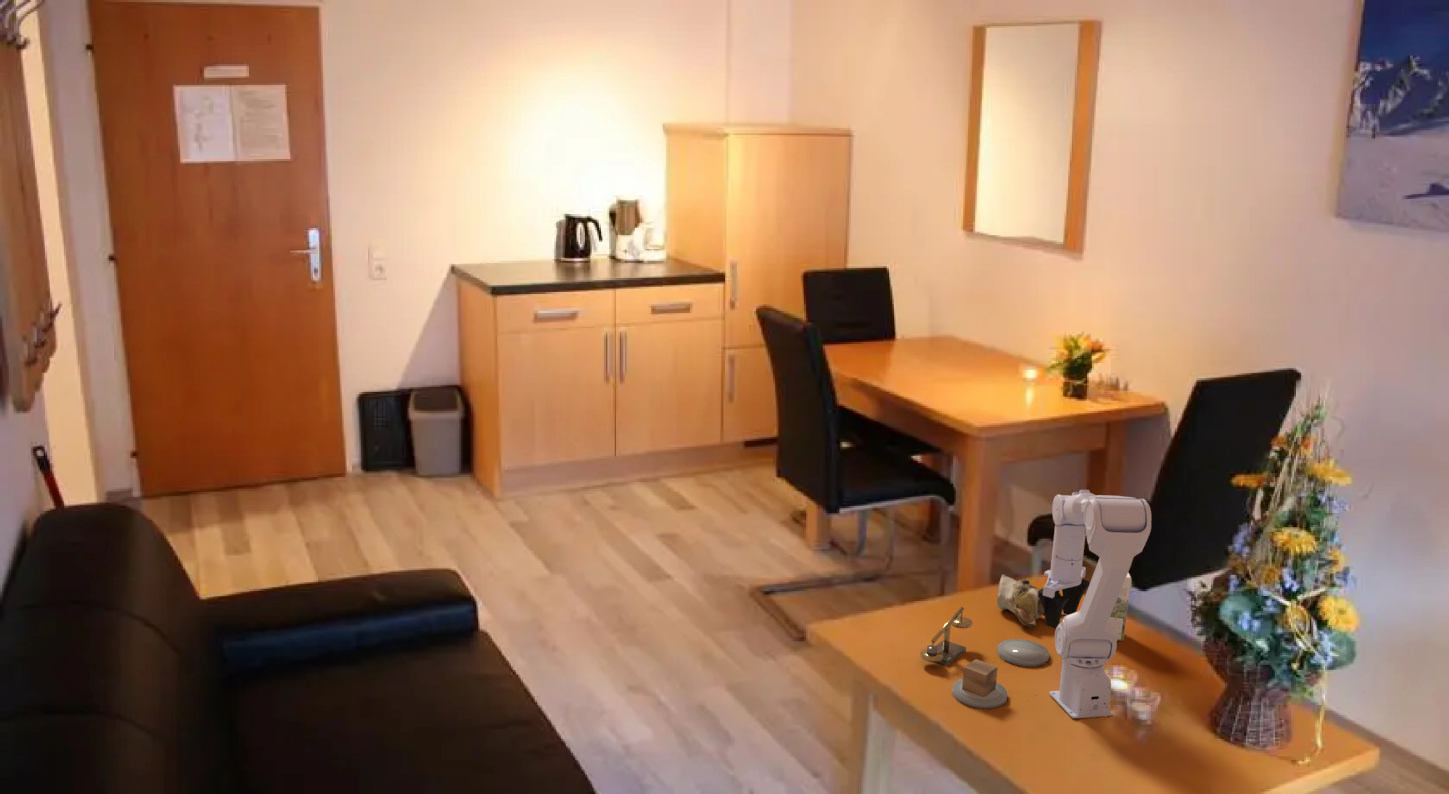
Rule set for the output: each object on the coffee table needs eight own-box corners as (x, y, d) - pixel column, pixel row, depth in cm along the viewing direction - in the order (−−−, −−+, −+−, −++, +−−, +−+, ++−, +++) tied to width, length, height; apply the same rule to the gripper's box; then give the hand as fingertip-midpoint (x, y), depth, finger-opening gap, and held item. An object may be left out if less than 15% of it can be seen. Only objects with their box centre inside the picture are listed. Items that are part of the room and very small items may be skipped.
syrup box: (1117, 629, 251) (1125, 565, 247) (1123, 642, 245) (1132, 576, 242) (1090, 628, 251) (1097, 563, 248) (1095, 640, 246) (1103, 574, 242)
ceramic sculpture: (1020, 563, 262) (1072, 591, 250) (1015, 598, 265) (1067, 628, 253) (985, 572, 257) (1037, 601, 245) (980, 608, 259) (1031, 639, 247)
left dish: (1015, 706, 218) (1016, 700, 217) (964, 710, 216) (965, 704, 215) (993, 680, 227) (993, 675, 227) (944, 683, 225) (944, 678, 225)
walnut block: (973, 681, 224) (975, 659, 223) (995, 689, 222) (997, 666, 221) (962, 689, 221) (963, 667, 220) (983, 697, 218) (985, 675, 217)
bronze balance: (953, 637, 245) (956, 599, 243) (975, 645, 242) (978, 606, 240) (914, 664, 233) (917, 625, 230) (936, 672, 230) (940, 632, 227)
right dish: (1057, 664, 234) (1057, 659, 234) (1010, 668, 232) (1010, 662, 232) (1034, 642, 244) (1035, 637, 244) (989, 645, 242) (989, 640, 242)
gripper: (1064, 540, 237) (1057, 603, 240) (1031, 560, 226) (1024, 625, 229) (1098, 549, 232) (1091, 613, 236) (1065, 570, 221) (1058, 637, 225)
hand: (1060, 620), depth 232 cm, fingers open, 7 cm apart
